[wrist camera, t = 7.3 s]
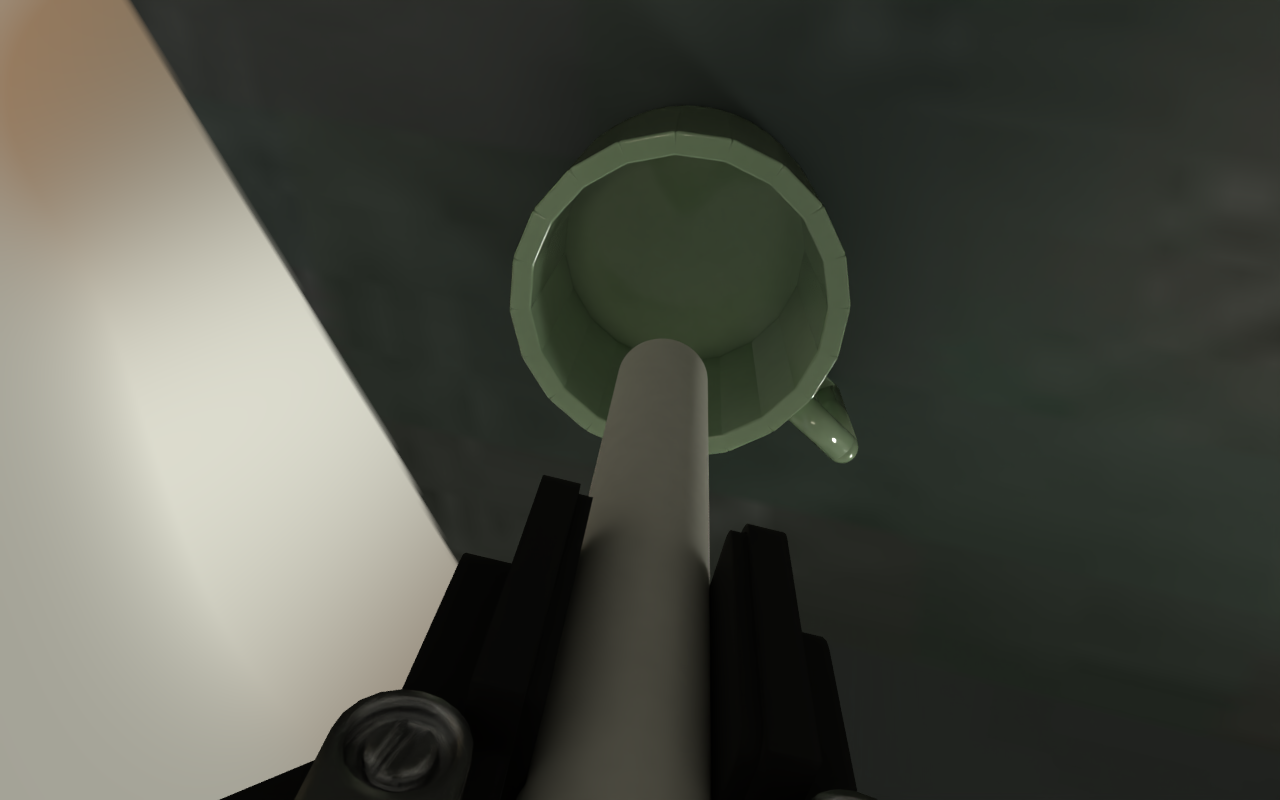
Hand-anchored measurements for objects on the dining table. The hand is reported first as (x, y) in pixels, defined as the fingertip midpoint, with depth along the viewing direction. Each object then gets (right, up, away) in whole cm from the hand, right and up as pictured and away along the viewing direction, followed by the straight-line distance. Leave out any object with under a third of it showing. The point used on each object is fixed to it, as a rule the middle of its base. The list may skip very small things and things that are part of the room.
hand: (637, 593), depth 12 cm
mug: (+3, +7, +18) cm, 19 cm away
